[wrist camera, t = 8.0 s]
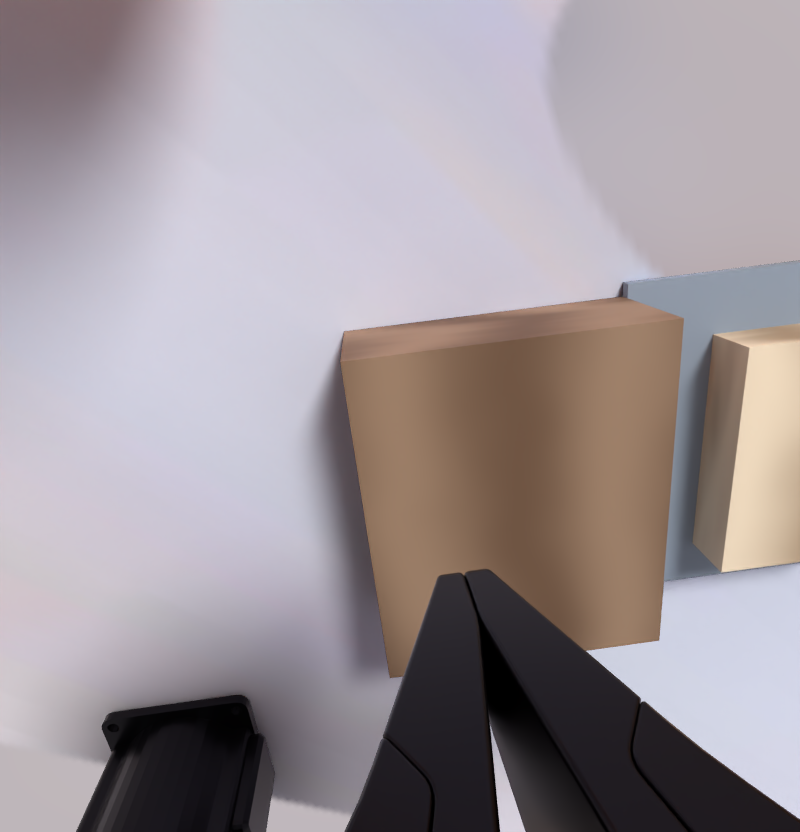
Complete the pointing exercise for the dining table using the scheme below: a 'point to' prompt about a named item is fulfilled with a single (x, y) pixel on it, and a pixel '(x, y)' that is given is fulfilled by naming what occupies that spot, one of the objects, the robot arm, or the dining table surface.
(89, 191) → the dining table surface
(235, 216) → the dining table surface
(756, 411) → the beige rectangular block
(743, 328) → the mat
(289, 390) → the dining table surface
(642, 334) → the brown wooden flat block
